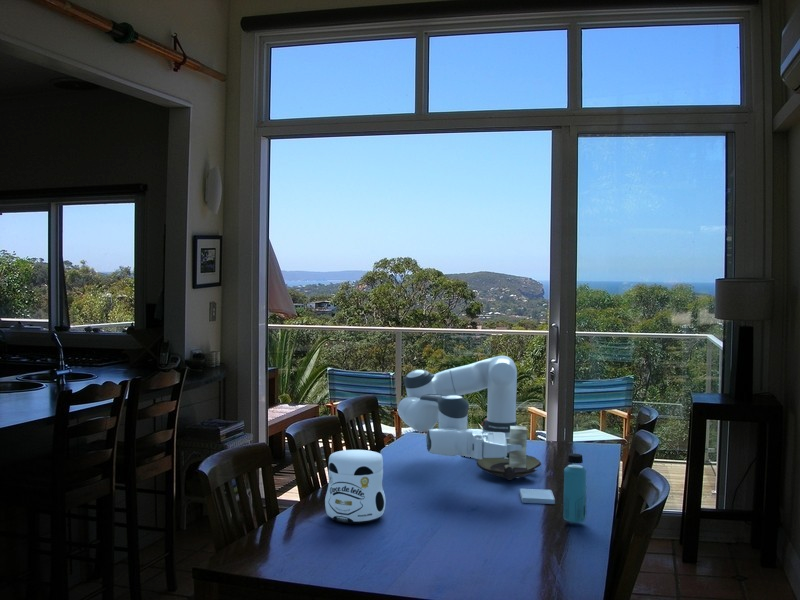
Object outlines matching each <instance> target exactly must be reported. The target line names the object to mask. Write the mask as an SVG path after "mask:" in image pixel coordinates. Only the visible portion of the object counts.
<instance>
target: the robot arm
mask: <svg viewBox="0 0 800 600" xmlns="http://www.w3.org/2000/svg"><path fill="white" fill-rule="evenodd" d="M517 379H518V370H517V366H516V363H515V361H514V360H513V359H512V358H511V357H509V356H506V355H497V356H494V357H490V358H487V359H486V358H485V359H482V360H479V361H475V362H472V363H469V364H466V365H461V366H457V367H452V368H449V369H445V370H442V371H439V372H437V373H431V372H429V371H428V370H426V369H416V370H415V369H414V370H412V371H410V372H408V373H407V374H406V375H405V377H404V379H403V380H404V382H403V383H404V387H405V390H406V397H404V398H402V399H401V400H400V401H399V403H398V405H397V413H398V416H399V417H400V419H401V420H402V422H404V423H405V424H406V425H407V426H408V427H410V428H411V429H413V430H415V431H418V432H426V441H425V442H426V449H427V451H428V453H431V454H433V455H438V456H447V457H457V456H462V457H464V456H465V458H470V457H471V458H470V459H475V460H477V459H482V458H483V457H484V458H502V457H504V459H509V458H507V457H506V456H507V452H509V451H516V450H517V451H521V450H522V446H521V444H510V426H518V424H517V423H518V422H517V387H518V385H517V384H518V380H517ZM485 389H487V408H486V409H487V411H486V412H487V413H486V414H487V415H486V418H484V419H483V420H482V422H481V428H468V417H469V416H468V414H469V407H470V403H469V402H468V401H467V400H466V398H464V397H463V396H464V395H468V394H473V393H477V392H480V391H483V390H485ZM437 423H438V424H437ZM436 425H438V426H437V428H434V427H435V426H436Z"/></svg>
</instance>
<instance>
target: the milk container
mask: <svg viewBox="0 0 800 600" xmlns="http://www.w3.org/2000/svg"><path fill="white" fill-rule="evenodd" d="M383 460H384V458H383V455H382V453H379V452H377V451H372V450H368V449H367V450H366V449H344V450H339V451H335V452H332V453H331V454H330V455H329V457H328V486H327V489H326V490H327V491H326V494H325V499H324V507H325V512H326V514H327V516H328V517H329V518H330V519H332V520H333V521H335V522H339V523H344V524H350V525H352V524H354V525H355V524H356V525H357V524H359V525H360V524H366V523H367V524H368V523H371V522H375V521H376V520H379V519H380V518H382V516H383V515H384V512H385V510H386V501H387V500H386V495H385V492H384V484H383V482H384V480H383V478H384V468H383V467H384V463H383V462H384V461H383Z"/></svg>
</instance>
